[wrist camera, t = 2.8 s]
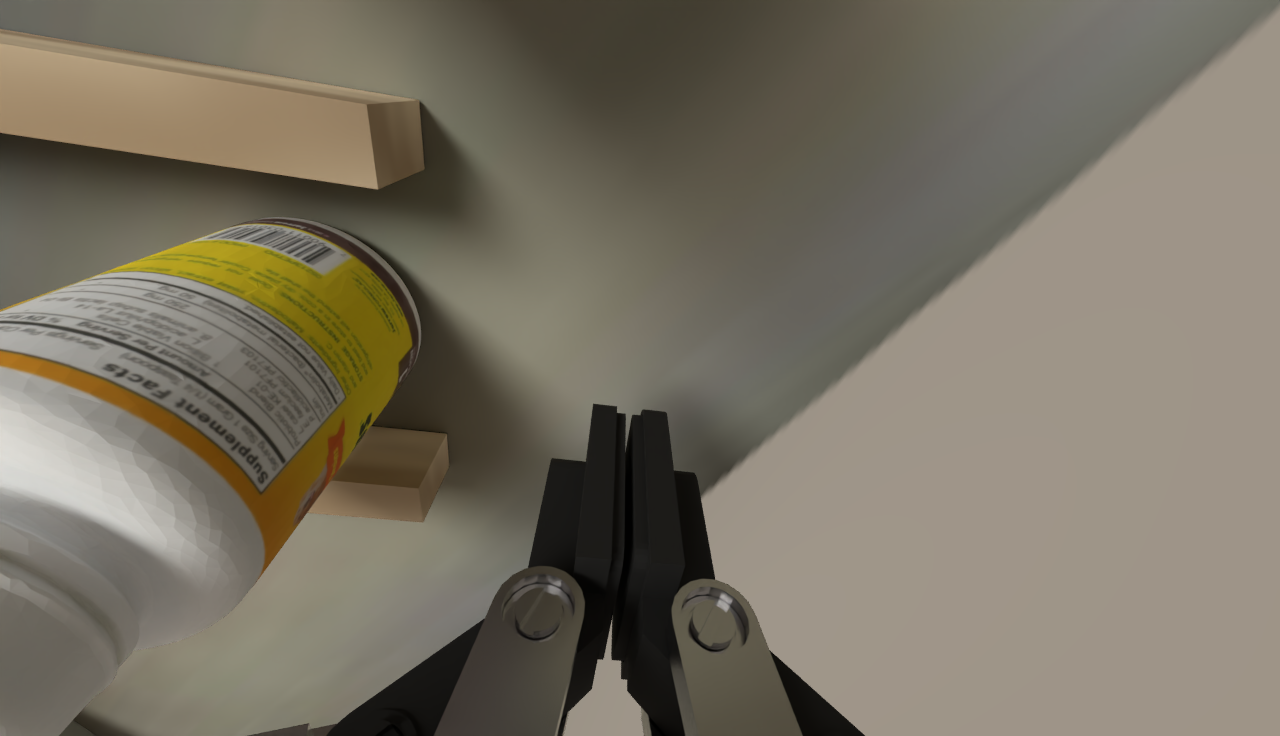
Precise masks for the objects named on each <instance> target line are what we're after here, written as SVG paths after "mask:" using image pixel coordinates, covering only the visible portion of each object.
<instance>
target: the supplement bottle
mask: <svg viewBox="0 0 1280 736" xmlns="http://www.w3.org/2000/svg"><path fill="white" fill-rule="evenodd" d="M420 345H421V325H420V319H419V315H418V312H417V309H416V306H415V303H414V301H413V299H412V297H411V295H410V293H409V291H408V289H407V287H406V286H405V284H404V283H403V281H402V280H401V278H400V277H399V276H398V275H397V273H396V272H395V271H394V270H393V269H392V268H391V266H390V265H389V264H388V263H387V262H386V261H385V260H384V259H382V258H381V257H380V256H379V255H378V254H377V253H376V252H374V251H373V250H372V249H370V248H369V247H368V246H366V245H365V244H363V243H362V242H360V241H359V240H357V239H356V238H354V237H352V236H350V235H348V234H346V233H344V232H342V231H340V230H338V229H335V228H333V227H330V226H328V225H325V224H322V223H318V222H314V221H310V220H305V219H299V218H291V217H270V218H262V219H257V220H252V221H248V222H245V223H242V224H238V225H235V226H232V227H229V228H226V229H224V230H221V231H218V232H215V233H212V234H209V235H207V236H204V237H201V238H198V239H195V240H193V241H190V242H187V243H184V244H182V245H179V246H176V247H173V248H170V249H168V250H165V251H162V252H159V253H157V254H154V255H151V256H148V257H145V258H143V259H140V260H137V261H134V262H132V263H129V264H126V265H123V266H120V267H117V268H115V269H112V270H109V271H107V272H104V273H101V274H98V275H96V276H93V277H90V278H87V279H85V280H82V281H79V282H77V283H74V284H71V285H68V286H65V287H63V288H60V289H57V290H54V291H51V292H48V293H46V294H43V295H40V296H37V297H34V298H32V299H29V300H26V301H23V302H20V303H18V304H15V305H12V306H10V307H7V308H4V309H2V310H0V736H59V735H60V734H61V733H62V732H63V731H64V729H65V728H66V727H67V726H68V725H69V724H70V723H71V722H72V720H73V719H74V718H75V717H76V716H77V715H78V714H79V713H80V712H81V711H82V709H83V708H84V707H85V706H86V705H87V704H88V703H89V702H90V701H91V700H92V699H93V698H94V697H95V696H97V695H98V694H100V693H101V692H102V691H103V690H105V689H106V688H107V687H108V686H109V685H110V684H111V682H112V681H113V679H114V678H115V676H116V673H117V668H118V667H119V666H120V665H121V664H122V663H123V662H124V661H125V660H126V659H127V658H128V657H129V655H130V654H131V653H132V652H133V651H135V650H141V649H148V648H154V647H159V646H163V645H166V644H170V643H174V642H177V641H180V640H183V639H185V638H188V637H191V636H193V635H195V634H197V633H200V632H202V631H203V630H205V629H207V628H209V627H210V626H212V625H213V624H215V623H216V622H218V621H219V620H221V619H222V618H224V617H225V616H226V615H227V614H229V613H230V612H231V611H232V610H233V609H234V608H235V607H236V606H237V605H238V604H239V603H240V601H241V600H242V599H243V598H244V597H245V595H246V594H247V593H248V591H249V590H250V589H251V588H252V587H253V586H254V584H255V583H256V582H257V580H258V579H259V578H260V576H261V575H262V574H263V572H264V571H265V570H266V568H267V567H268V565H269V564H270V563H271V561H272V560H273V559H274V557H275V556H276V555H277V553H278V552H279V550H280V549H281V548H282V546H283V545H284V544H285V542H286V541H287V540H288V538H289V537H290V535H291V534H292V533H293V531H294V530H295V529H296V527H297V526H298V524H299V523H300V522H301V520H302V519H303V518H304V516H305V515H306V513H307V512H308V511H309V509H310V508H311V507H312V505H313V504H314V503H315V501H316V500H317V499H318V497H319V496H320V494H321V493H322V492H323V490H324V489H325V488H326V486H327V485H328V484H329V482H330V481H331V480H332V478H333V477H334V475H335V474H336V473H337V471H338V470H339V469H340V467H341V466H342V465H343V463H344V462H345V461H346V459H347V458H348V456H349V455H350V454H351V452H352V451H353V450H354V449H355V447H356V446H357V445H358V443H359V442H360V441H361V439H362V438H363V436H364V434H365V433H366V432H367V430H368V429H369V428H370V426H371V425H372V424H373V422H374V421H375V420H376V418H377V417H378V416H379V414H380V413H381V412H382V410H383V409H384V407H385V406H386V405H387V403H388V402H389V400H390V399H391V398H392V397H393V395H394V394H395V393H396V391H397V390H398V389H399V387H400V386H401V385H402V383H403V382H404V380H405V379H406V377H407V376H408V374H409V373H410V371H411V369H412V368H413V366H414V364H415V362H416V359H417V356H418V353H419V349H420Z"/></svg>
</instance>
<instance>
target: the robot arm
mask: <svg viewBox="0 0 1280 736" xmlns="http://www.w3.org/2000/svg"><path fill="white" fill-rule="evenodd" d="M625 429H626V414H622V413H617V406H608V405H599V404H593V410H592V418H591V426H590V434H589V442H588V450H587V458H586V462H582V461H573V460H563V459H553V458H552V460H551V463H550V467H549V472H548V477H547V481H546V486H545V491H544V495H543V500H542V505H541V509H540V514H539V519H538V524H537V528H536V533H535V538H534V542H533V547H532V552H531V556H530V561H529V566H528V568H526V569H524V570H522V571H520V572H518V573H516V574H514V575H512V576H511V577H510V578H509V579H508V580H507V581H505V582H504V583H503V584H502V585H501V587H500V589H499V590H498V592H497V593H496V595H495V597H494V599H493V601H492V604H491V606H490V608H489V610H488V613H487V615H486V617H485V619H483V620H482V621H480V622H479V623H477V624H476V625H475V626H473V627H472V628H470V629H469V630H467V631H466V632H465V633H463V634H462V635H460V636H459V637H457V638H456V639H455V640H453V641H452V642H450V643H449V644H448V645H446V646H445V647H443V648H442V649H440V650H439V651H438V652H436V653H435V654H433V655H432V656H430V657H429V658H428V659H426V660H425V661H423V662H422V663H421V664H419V665H418V666H416V667H415V668H413V669H412V670H411V671H409V672H408V673H406V674H405V675H403V676H402V677H401V678H399V679H398V680H396V681H395V682H393V683H392V684H391V685H389V686H388V687H386V688H385V689H384V690H382V691H381V692H379V693H378V694H376V695H375V696H374V697H372V698H371V699H369V700H368V701H366V702H365V703H364V704H362V705H361V706H359V707H358V708H356V709H355V710H354V711H352V712H351V713H349V714H348V715H347V716H346V717H345V718H343V719H342V720H341V721H340V722H339V723H338V724H333V725H329V726H324V727H319V728H314V729H312V728H311V726H310V724H309V723H308V724H303V725H298V726H293V727H288V728H283V729H278V730H273V731H268V732H264V733H259V734H254V735H249V736H564V732H565V728H566V723H567V719H568V714H569V711H570V710H571V709H572V708H573V707H574V706H575V705H576V704H577V703H578V702H579V701H580V700H581V699H582V698H583V697H584V696H585V695H586V694H587V693H588V692H589V691H590V690H591V689H592V685H593V679H594V675H595V670H596V664H597V659H602V660H603V658H604V653H605V649H606V644H607V639H608V634H609V629H610V625H611V620H612V652H611V654H612V655H611V656H612V660H619V661H621V679H627V691H628V692H629V693H630V694H631V696H632V697H633V698H634V699H635V700H636V702H637V703H638V704H639V705H640V706H641V719H642V726H643V733H644V736H865V735H864V734H863V733H861V732H860V731H859V730H858V729H857V728H856V727H855V726H854V725H853V724H851V723H850V722H849V721H848V720H847V719H846V718H845V717H844V716H842V715H841V714H840V713H839V712H838V711H837V710H836V709H835V708H834V707H832V706H831V705H830V704H829V703H828V702H826V700H825V699H823V698H822V697H821V696H820V695H819V694H818V693H817V692H816V691H815V690H813V689H812V688H811V687H810V686H809V685H808V684H807V683H806V682H804V681H803V680H802V679H801V678H800V677H799V676H798V675H797V674H796V673H794V672H793V671H792V670H791V669H790V668H789V667H788V666H787V665H785V664H784V663H783V662H782V661H781V660H780V659H779V658H778V657H777V656H775V655H774V654H773V653H772V652H771V651H770V650H769V648H768V646H767V643H766V640H765V638H764V635H763V633H762V630H761V628H760V625H759V622H758V620H757V617H756V615H755V613H754V611H753V609H752V608H751V606H750V604H749V602H747V600H746V599H745V598H744V597H743V596H742V595H741V594H740V593H739V592H738V591H736V590H735V589H734V588H732V587H730V586H729V585H728V584H725V583H722V582H720V581H717V580H715V575H714V570H713V564H712V559H711V553H710V547H709V542H708V536H707V531H706V525H705V520H704V514H703V508H702V503H701V497H700V492H699V486H698V481H697V477H696V475H695V473H691V472H681V471H674V469H673V460H672V452H671V444H670V435H669V427H668V419H667V413H666V412H661V411H652V410H642V412H641V416H640V415H632V419H631V424H630V430H629V436H628V441H627V447H626V452H625ZM612 615H613V618H612Z"/></svg>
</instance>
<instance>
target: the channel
mask: <svg viewBox="0 0 1280 736" xmlns="http://www.w3.org/2000/svg"><path fill="white" fill-rule="evenodd" d="M0 133H6V134H12V135H19V136H25V137H32V138H39V139H45V140H52V141H59V142H65V143H72V144H79V145H85V146H92V147H99V148H105V149H112V150H119V151H125V152H132V153H139V154H145V155H152V156H159V157H165V158H172V159H179V160H185V161H192V162H199V163H205V164H212V165H219V166H225V167H232V168H239V169H245V170H252V171H259V172H265V173H272V174H278V175H285V176H292V177H298V178H305V179H312V180H318V181H325V182H332V183H338V184H345V185H352V186H358V187H365V188H372V189H380V188H383V187H385V186H387V185H390V184H392V183H394V182H397V181H399V180H401V179H404V178H406V177H408V176H411V175H413V174H415V173H418V172H420V171H422V170H425V166H424V154H423V142H422V130H421V118H420V106H419V100H416V99H410V98H404V97H398V96H392V95H386V94H381V93H375V92H369V91H363V90H357V89H351V88H345V87H339V86H333V85H327V84H322V83H316V82H310V81H304V80H298V79H292V78H286V77H280V76H274V75H269V74H263V73H257V72H251V71H245V70H239V69H233V68H227V67H221V66H216V65H210V64H204V63H198V62H192V61H186V60H180V59H174V58H168V57H163V56H157V55H151V54H145V53H139V52H133V51H127V50H121V49H115V48H109V47H104V46H98V45H92V44H86V43H80V42H74V41H68V40H62V39H56V38H51V37H45V36H39V35H33V34H27V33H21V32H15V31H9V30H3V29H0ZM448 468H449V455H448V443H447V434H443V433H434V432H424V431H414V430H404V429H394V428H385V427H375V426H370V428H369V429H368V430H367V432H366V433H365V434H364V436H363V438H362V439H361V441H360V442H359V443H358V445H357V446H356V447H355V449H354V450H353V451H352V452H351V454H350V455H349V456H348V458H347V459H346V461H345V462H344V463H343V465H342V466H341V467H340V469H339V470H338V471H337V473H336V474H335V475H334V477H333V478H332V480H331V481H330V482H329V484H328V485H327V486H326V488H325V489H324V490H323V492H322V493H321V494H320V496H319V497H318V499H317V500H316V501H315V503H314V504H313V505H312V507H311V508H310V509H309V511H308V512H307V513H316V514H328V515H340V516H352V517H364V518H376V519H388V520H400V521H412V522H424V519H425V517H426V515H427V513H428V511H429V509H430V507H431V504H432V502H433V500H434V498H435V496H436V494H437V492H438V489H439V487H440V485H441V483H442V481H443V479H444V477H445V474H446V472H447V470H448Z"/></svg>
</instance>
